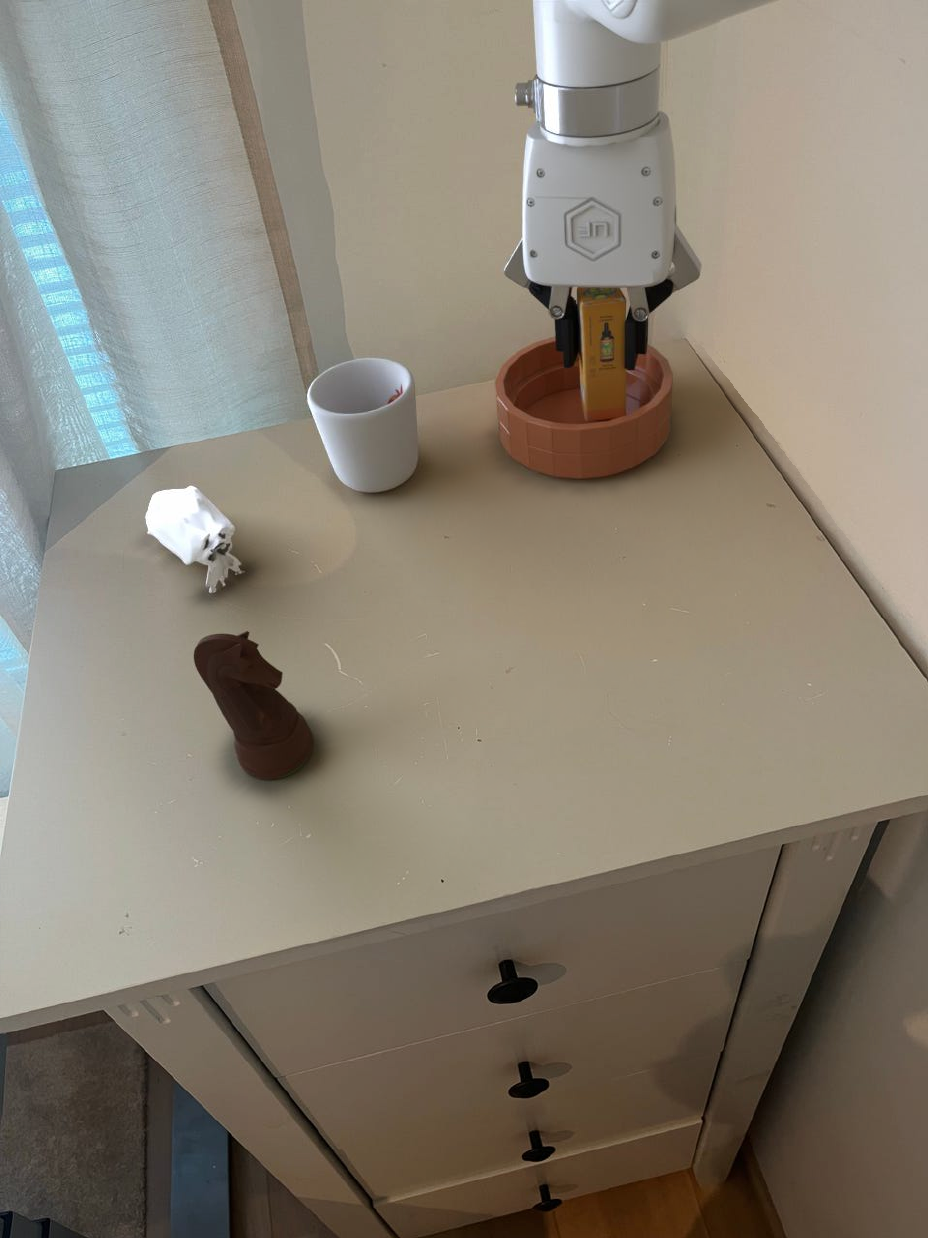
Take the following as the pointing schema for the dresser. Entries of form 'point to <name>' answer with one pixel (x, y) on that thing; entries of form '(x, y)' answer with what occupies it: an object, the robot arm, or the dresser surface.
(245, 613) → the dresser surface
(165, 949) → the dresser surface
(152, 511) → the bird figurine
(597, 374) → the supplement box
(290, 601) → the dresser surface
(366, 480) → the cup
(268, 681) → the chess piece
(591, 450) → the bowl
